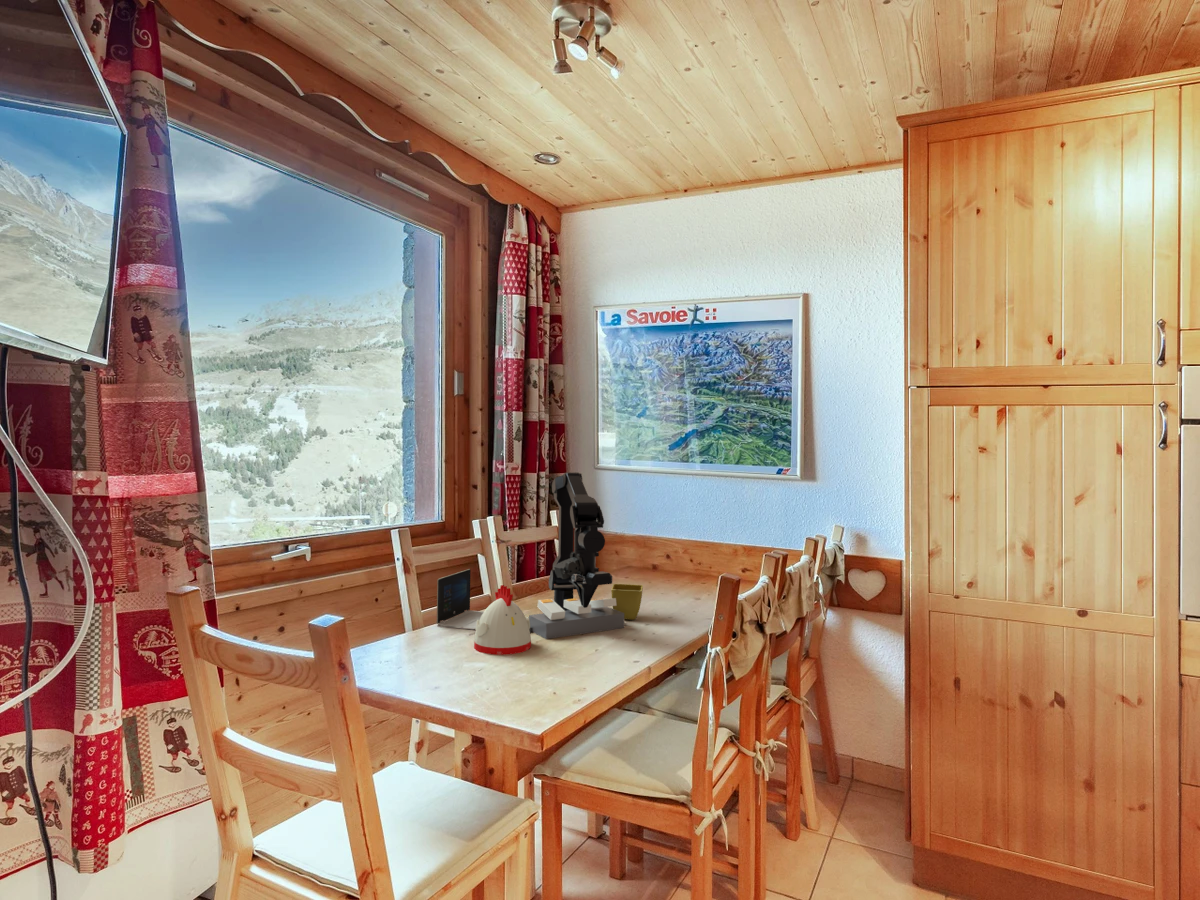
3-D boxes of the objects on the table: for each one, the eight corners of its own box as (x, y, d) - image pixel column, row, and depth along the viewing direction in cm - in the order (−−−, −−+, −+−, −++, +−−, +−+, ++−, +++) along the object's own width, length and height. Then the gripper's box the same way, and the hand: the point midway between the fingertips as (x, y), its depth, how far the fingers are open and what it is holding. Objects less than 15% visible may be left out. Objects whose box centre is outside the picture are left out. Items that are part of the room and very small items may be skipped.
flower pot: (642, 615, 211) (643, 584, 211) (641, 622, 203) (642, 590, 203) (612, 613, 212) (613, 583, 212) (610, 621, 204) (610, 589, 203)
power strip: (508, 632, 189) (508, 617, 189) (604, 619, 205) (604, 605, 205) (524, 642, 180) (525, 626, 180) (624, 627, 196) (624, 613, 196)
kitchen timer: (488, 658, 167) (489, 593, 166) (465, 643, 178) (466, 583, 178) (541, 649, 174) (542, 587, 174) (515, 636, 186) (516, 578, 186)
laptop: (477, 631, 190) (477, 582, 190) (435, 627, 194) (436, 579, 194) (507, 616, 207) (507, 571, 207) (468, 612, 212) (469, 568, 211)
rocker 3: (589, 607, 200) (588, 600, 201) (601, 606, 202) (600, 598, 203) (604, 607, 194) (603, 598, 194) (616, 605, 196) (615, 597, 196)
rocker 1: (537, 607, 192) (538, 599, 192) (550, 605, 194) (551, 598, 194) (550, 620, 186) (551, 612, 185) (564, 618, 188) (565, 610, 187)
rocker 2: (563, 607, 196) (563, 599, 196) (576, 605, 198) (576, 597, 198) (578, 614, 190) (578, 605, 189) (591, 612, 192) (591, 604, 192)
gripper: (541, 546, 195) (541, 604, 194) (576, 554, 179) (575, 617, 178) (577, 544, 201) (577, 600, 200) (613, 551, 185) (613, 612, 184)
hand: (584, 607), depth 191 cm, fingers closed, pressing on rocker 2
